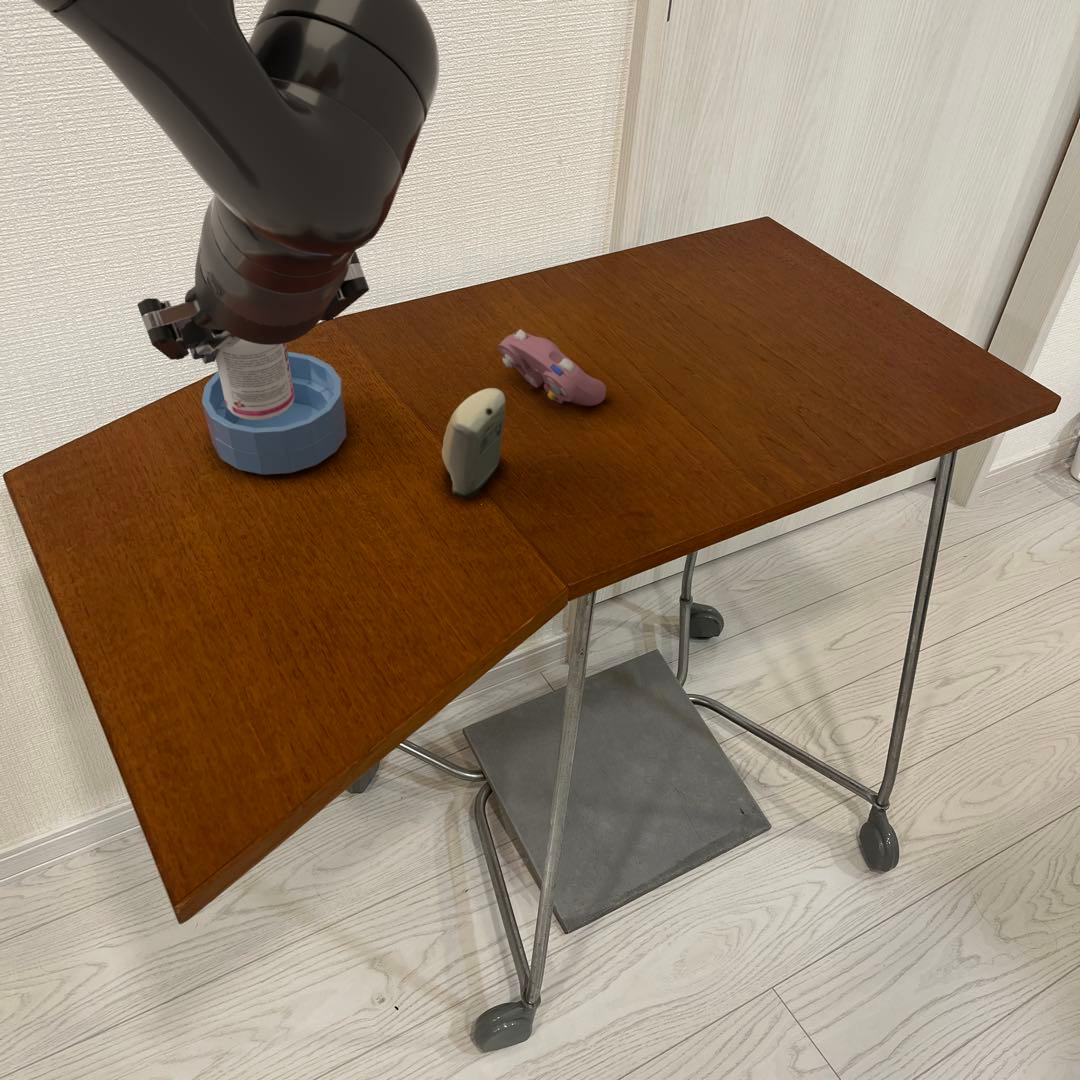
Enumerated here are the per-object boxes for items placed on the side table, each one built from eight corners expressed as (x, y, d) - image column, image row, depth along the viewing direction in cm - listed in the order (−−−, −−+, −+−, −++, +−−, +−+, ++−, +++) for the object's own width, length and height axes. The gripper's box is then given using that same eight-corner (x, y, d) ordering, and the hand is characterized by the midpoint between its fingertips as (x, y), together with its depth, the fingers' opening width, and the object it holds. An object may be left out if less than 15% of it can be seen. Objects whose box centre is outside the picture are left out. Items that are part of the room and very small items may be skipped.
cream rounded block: (508, 503, 82) (509, 424, 77) (444, 505, 82) (440, 427, 76) (503, 458, 86) (504, 380, 81) (442, 460, 86) (438, 382, 80)
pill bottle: (309, 402, 72) (292, 296, 66) (252, 431, 69) (230, 323, 63) (269, 374, 74) (249, 269, 68) (213, 401, 71) (187, 295, 65)
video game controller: (508, 383, 97) (482, 339, 91) (540, 350, 97) (516, 304, 91) (580, 432, 91) (558, 389, 86) (613, 396, 92) (594, 351, 86)
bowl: (238, 495, 82) (227, 447, 78) (198, 421, 89) (185, 373, 85) (367, 454, 86) (362, 406, 83) (318, 386, 93) (312, 339, 89)
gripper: (374, 163, 56) (322, 263, 72) (111, 215, 51) (116, 312, 67) (419, 291, 57) (357, 363, 73) (163, 357, 52) (156, 419, 67)
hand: (242, 338), depth 70 cm, fingers closed on pill bottle, 4 cm apart
